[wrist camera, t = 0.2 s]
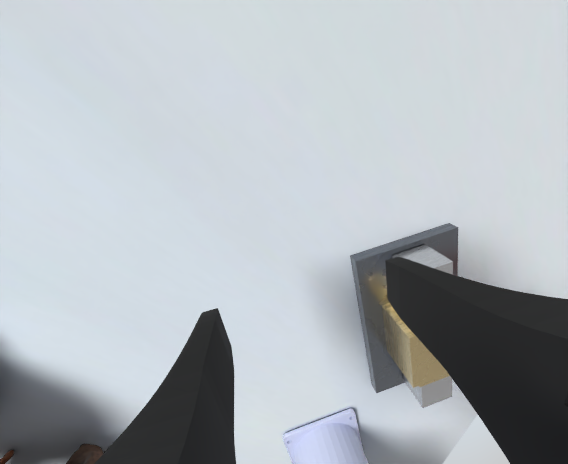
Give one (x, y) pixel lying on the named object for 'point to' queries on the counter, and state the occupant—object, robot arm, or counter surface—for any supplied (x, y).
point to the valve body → (387, 324)
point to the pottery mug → (80, 459)
